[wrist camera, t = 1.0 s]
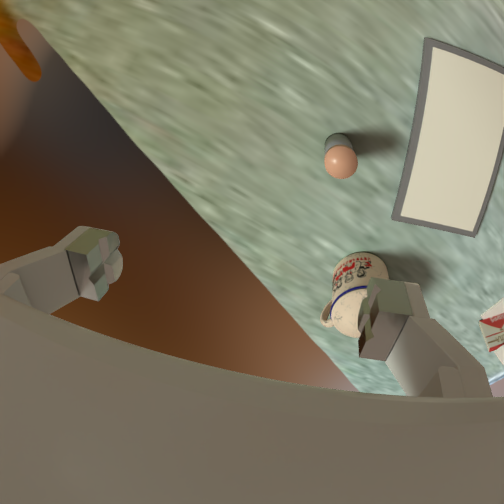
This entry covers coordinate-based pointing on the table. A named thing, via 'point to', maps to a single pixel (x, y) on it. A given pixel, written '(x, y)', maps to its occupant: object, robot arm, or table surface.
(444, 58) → the whiteboard
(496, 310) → the cigarette display
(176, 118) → the table surface
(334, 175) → the cylinder
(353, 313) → the teacup with lid
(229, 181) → the table surface
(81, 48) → the table surface
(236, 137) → the table surface
